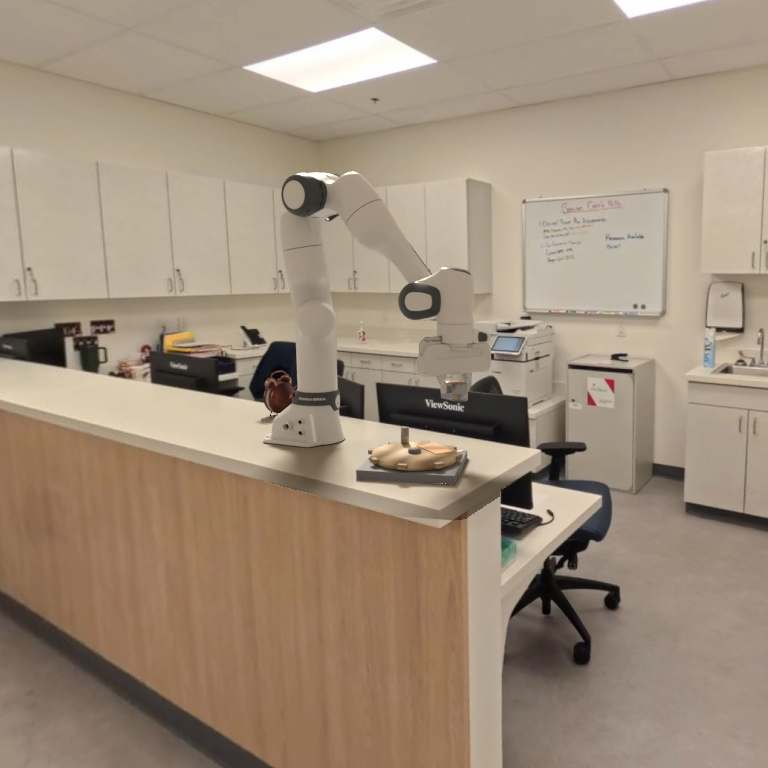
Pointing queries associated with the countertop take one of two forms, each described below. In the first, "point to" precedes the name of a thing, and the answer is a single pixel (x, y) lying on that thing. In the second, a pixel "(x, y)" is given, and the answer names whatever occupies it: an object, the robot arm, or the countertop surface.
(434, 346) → the robot arm
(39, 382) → the countertop surface
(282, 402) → the alarm clock
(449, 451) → the sprocket disc
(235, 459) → the countertop surface
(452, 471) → the index base
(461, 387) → the silver toaster
